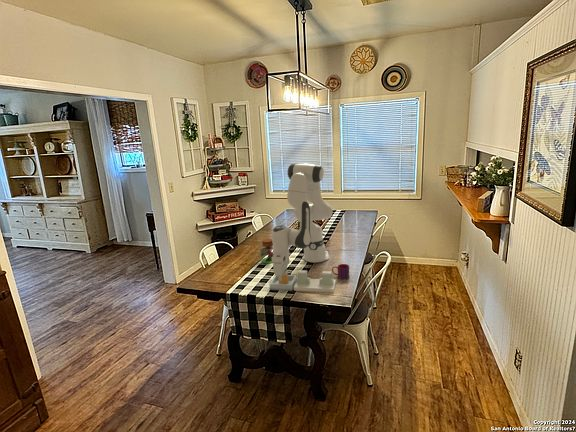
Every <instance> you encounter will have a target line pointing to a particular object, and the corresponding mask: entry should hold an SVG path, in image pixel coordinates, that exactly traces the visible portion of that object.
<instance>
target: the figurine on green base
mask: <svg viewBox="0 0 576 432" xmlns="http://www.w3.org/2000/svg"><path fill="white" fill-rule="evenodd" d="M261 242H262V248H261V249H260V250H259V257H260V260H261V263H263V264H273V262H272V257H273V252H272V250H273V247H274V246H273V242H272V238H265V239H263V240H262V241H261ZM263 256H265V257H263ZM266 256H267V257H266ZM262 257H263V259H262Z"/></svg>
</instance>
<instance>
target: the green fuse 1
mask: <svg viewBox="0 0 576 432" xmlns="http://www.w3.org/2000/svg"><path fill="white" fill-rule="evenodd" d="M297 277H298V284H307V278H308V270H307V269H306V270H305V269H304V270H303V269H301V270H300V269H299V270H297Z"/></svg>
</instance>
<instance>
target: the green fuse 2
mask: <svg viewBox="0 0 576 432" xmlns="http://www.w3.org/2000/svg"><path fill="white" fill-rule="evenodd" d="M321 273H322V274H321V278H322V281H323V285H332V279H333V272H332V270H331V271H329V270H326V271H325V270H323V271H322V272H321Z"/></svg>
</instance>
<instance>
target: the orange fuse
mask: <svg viewBox="0 0 576 432" xmlns="http://www.w3.org/2000/svg"><path fill="white" fill-rule="evenodd" d="M288 275H289V271H288V270H287V271H284V272H283V274H282V277H283V280H282V281H279V284H288V283H289V281H288ZM278 279H279V277H278Z"/></svg>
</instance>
